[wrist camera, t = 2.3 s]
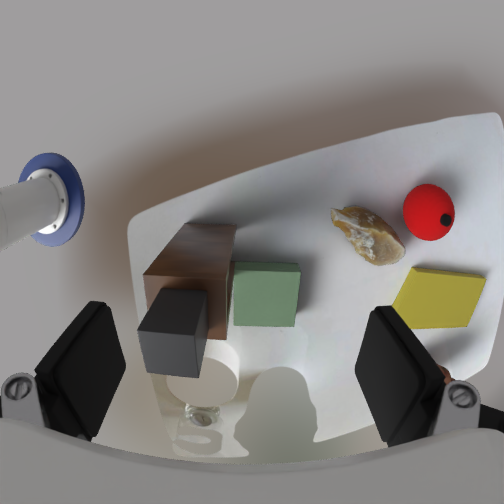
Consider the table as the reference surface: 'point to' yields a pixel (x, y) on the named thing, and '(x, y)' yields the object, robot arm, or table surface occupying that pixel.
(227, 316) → the tall brown wooden block
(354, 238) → the stone
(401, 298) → the flat olive board
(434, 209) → the ornament
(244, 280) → the sage green square slab
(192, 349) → the block
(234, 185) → the table surface
